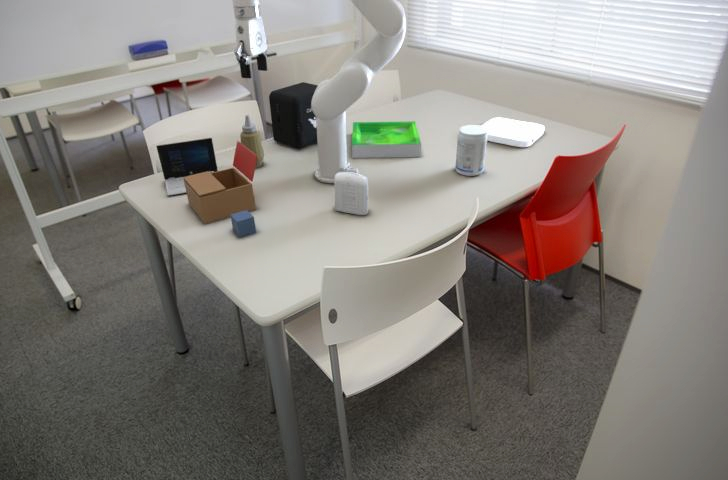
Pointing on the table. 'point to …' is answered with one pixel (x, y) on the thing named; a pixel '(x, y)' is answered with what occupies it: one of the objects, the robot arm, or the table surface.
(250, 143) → the squeeze bottle
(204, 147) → the laptop
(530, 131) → the computer
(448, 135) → the table surface
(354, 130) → the tray
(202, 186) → the carton
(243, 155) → the flap
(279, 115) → the black box-shaped case
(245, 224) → the block
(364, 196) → the white upright block
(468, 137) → the supplement tub
